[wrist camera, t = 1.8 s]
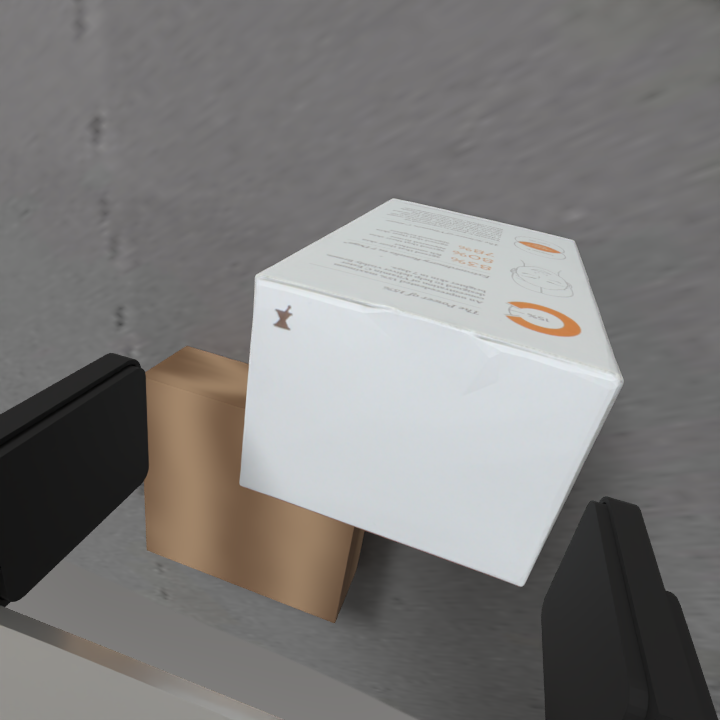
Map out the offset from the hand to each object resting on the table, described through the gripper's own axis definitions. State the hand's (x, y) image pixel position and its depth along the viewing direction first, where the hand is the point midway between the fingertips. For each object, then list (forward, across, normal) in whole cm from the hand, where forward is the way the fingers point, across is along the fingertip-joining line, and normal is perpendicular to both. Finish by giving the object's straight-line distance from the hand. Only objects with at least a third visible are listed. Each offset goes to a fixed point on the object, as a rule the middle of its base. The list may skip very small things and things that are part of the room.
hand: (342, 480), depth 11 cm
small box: (+15, -1, 0) cm, 15 cm away
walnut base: (+15, +7, +13) cm, 21 cm away
